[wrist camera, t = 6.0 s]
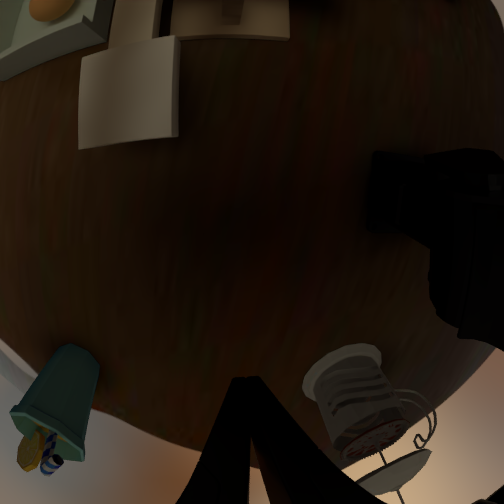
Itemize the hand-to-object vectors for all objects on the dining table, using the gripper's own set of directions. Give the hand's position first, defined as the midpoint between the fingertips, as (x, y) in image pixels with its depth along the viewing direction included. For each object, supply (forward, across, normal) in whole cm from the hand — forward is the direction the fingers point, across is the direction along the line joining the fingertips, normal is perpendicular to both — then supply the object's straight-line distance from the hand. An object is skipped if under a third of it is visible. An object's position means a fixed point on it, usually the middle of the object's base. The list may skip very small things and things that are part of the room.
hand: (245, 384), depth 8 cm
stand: (+13, 0, -21) cm, 25 cm away
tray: (+13, +14, -21) cm, 29 cm away
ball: (+10, +14, -21) cm, 27 cm away
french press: (+13, -13, +16) cm, 24 cm away
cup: (+13, +16, +12) cm, 24 cm away
